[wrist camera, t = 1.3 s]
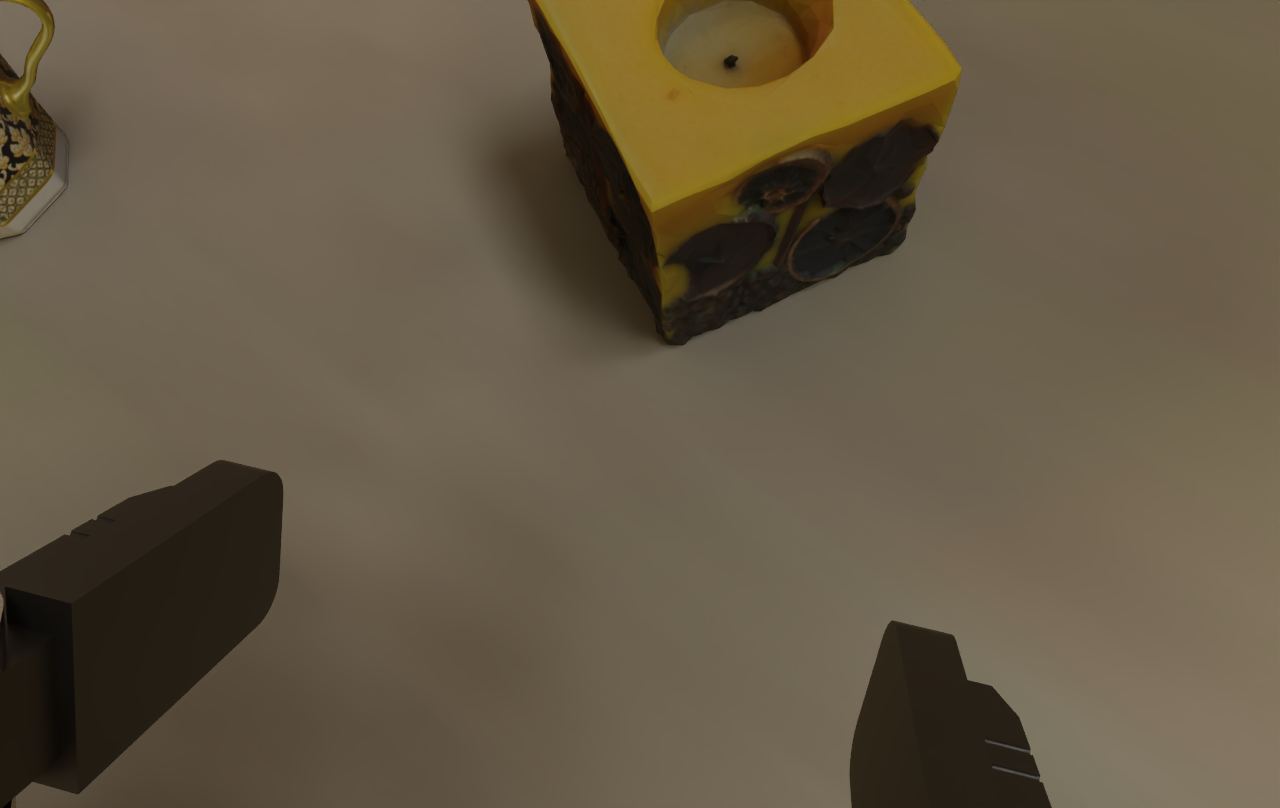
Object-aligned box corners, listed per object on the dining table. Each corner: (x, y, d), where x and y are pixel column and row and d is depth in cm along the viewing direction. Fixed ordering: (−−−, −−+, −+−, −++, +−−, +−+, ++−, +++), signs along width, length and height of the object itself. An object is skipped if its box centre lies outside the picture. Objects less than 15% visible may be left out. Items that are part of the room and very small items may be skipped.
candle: (562, 151, 38) (502, -40, 28) (786, 52, 38) (799, -168, 29) (665, 359, 34) (636, 219, 25) (910, 247, 35) (972, 69, 25)
